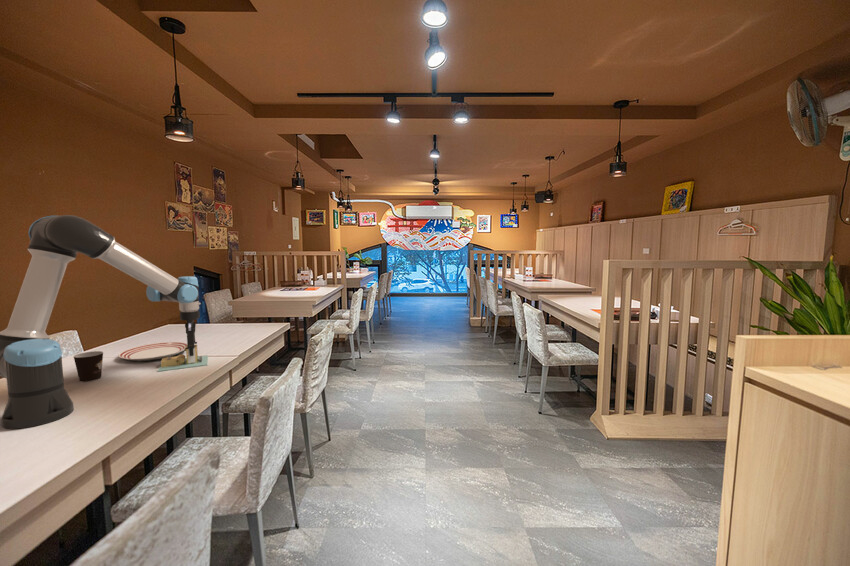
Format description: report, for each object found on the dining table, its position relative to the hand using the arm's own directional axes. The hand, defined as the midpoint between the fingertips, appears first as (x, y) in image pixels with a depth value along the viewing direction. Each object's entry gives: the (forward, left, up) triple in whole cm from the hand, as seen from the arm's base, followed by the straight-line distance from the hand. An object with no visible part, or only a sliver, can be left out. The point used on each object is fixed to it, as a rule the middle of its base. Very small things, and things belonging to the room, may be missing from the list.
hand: (192, 360), depth 166 cm
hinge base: (0, +3, -1) cm, 3 cm away
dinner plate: (+22, +16, -1) cm, 27 cm away
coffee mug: (-4, +33, -1) cm, 33 cm away
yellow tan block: (0, 0, -1) cm, 1 cm away
